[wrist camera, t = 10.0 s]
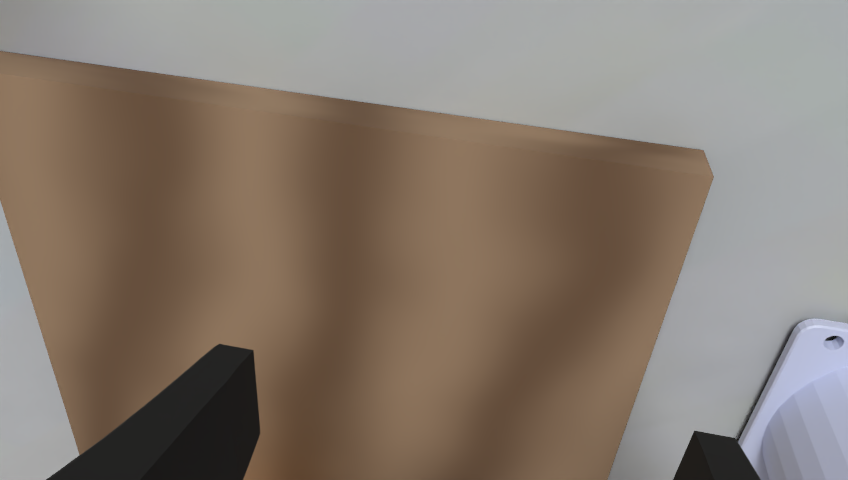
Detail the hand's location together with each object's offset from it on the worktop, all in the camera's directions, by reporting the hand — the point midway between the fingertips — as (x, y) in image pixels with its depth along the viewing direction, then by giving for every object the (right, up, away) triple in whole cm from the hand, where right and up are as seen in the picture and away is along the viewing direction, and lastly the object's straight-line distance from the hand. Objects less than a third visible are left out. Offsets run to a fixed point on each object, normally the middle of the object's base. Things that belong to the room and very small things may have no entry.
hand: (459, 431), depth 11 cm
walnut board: (-4, -3, +14) cm, 15 cm away
